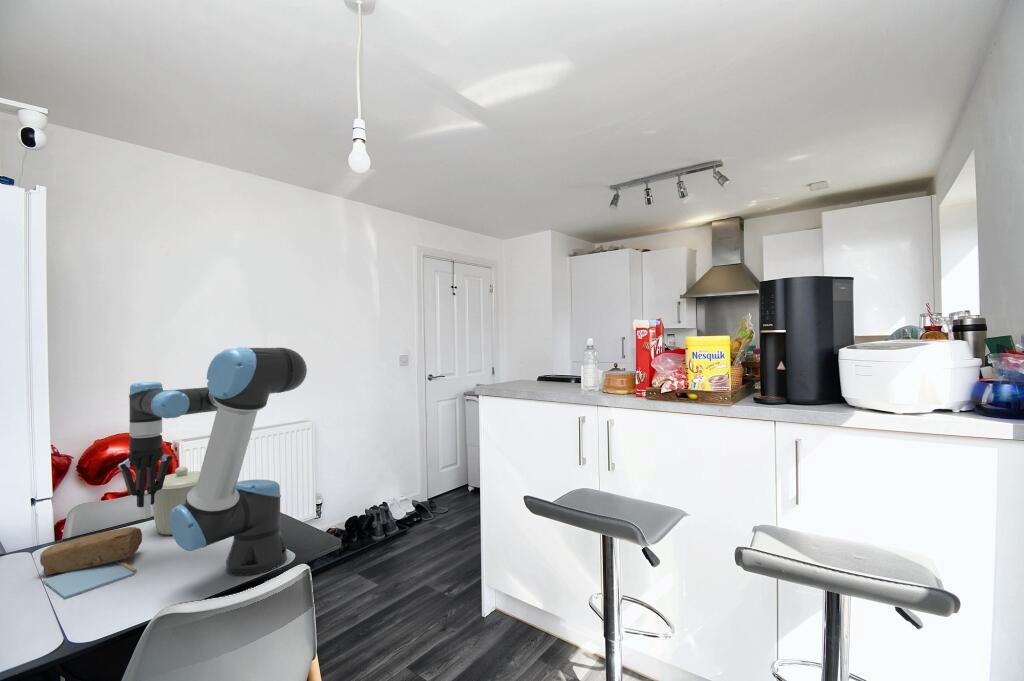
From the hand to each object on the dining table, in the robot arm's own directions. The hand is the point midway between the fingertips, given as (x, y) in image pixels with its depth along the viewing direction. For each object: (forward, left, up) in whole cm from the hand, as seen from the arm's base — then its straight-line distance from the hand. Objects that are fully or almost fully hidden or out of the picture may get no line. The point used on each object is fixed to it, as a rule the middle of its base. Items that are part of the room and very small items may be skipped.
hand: (145, 517), depth 134 cm
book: (0, +12, -12) cm, 18 cm away
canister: (+17, -17, -13) cm, 27 cm away
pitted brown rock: (+3, +1, -7) cm, 8 cm away
